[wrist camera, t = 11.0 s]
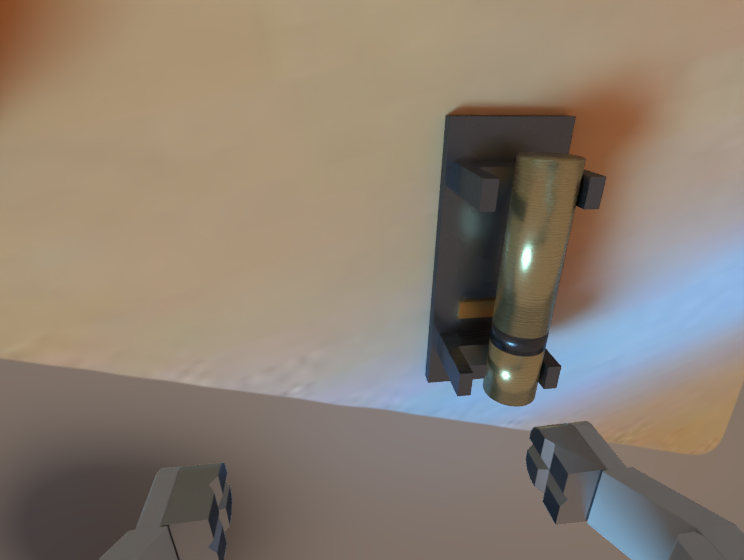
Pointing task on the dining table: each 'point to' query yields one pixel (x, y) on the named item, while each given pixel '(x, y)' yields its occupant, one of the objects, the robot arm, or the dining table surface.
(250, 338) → the dining table surface
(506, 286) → the tube
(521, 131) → the stand
